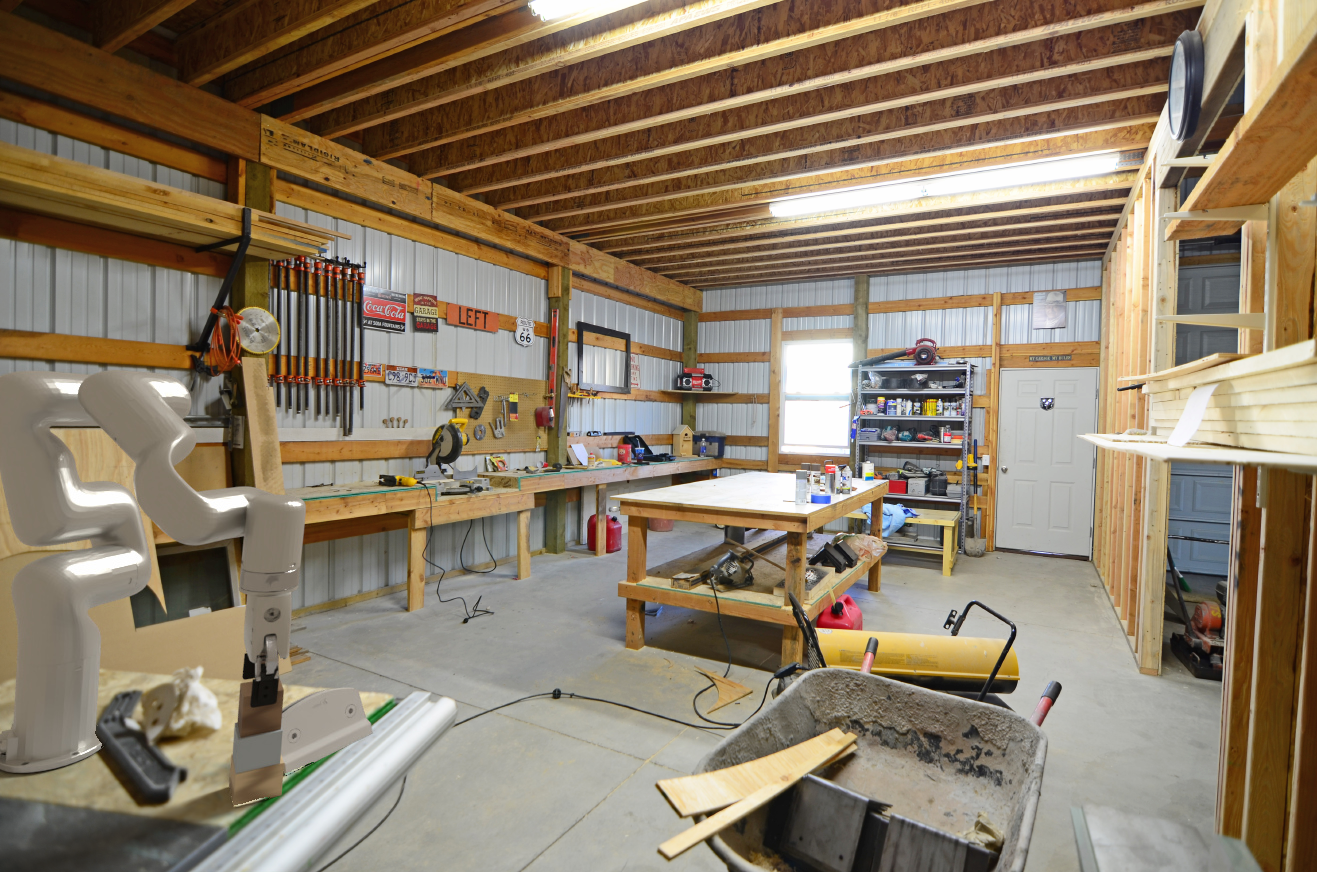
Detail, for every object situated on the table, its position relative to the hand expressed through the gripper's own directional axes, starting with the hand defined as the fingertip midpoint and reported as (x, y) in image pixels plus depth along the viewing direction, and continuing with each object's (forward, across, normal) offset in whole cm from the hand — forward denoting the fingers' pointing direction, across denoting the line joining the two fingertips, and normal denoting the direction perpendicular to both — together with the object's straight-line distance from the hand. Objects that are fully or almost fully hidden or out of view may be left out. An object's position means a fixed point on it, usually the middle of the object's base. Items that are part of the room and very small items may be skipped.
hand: (258, 690), depth 93 cm
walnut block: (+5, -1, 0) cm, 5 cm away
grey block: (+10, -1, 0) cm, 10 cm away
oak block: (+15, -1, -1) cm, 15 cm away
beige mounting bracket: (+16, +8, -11) cm, 20 cm away
